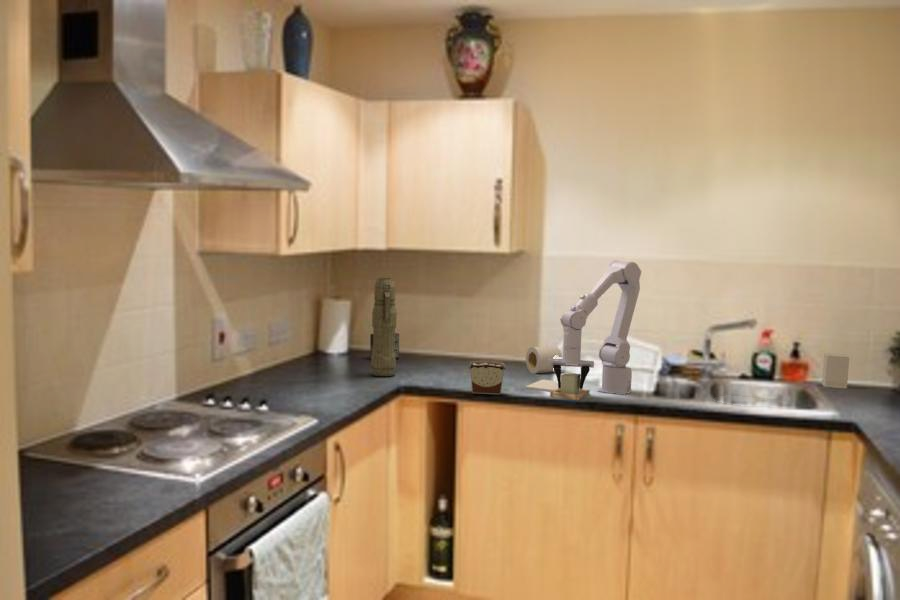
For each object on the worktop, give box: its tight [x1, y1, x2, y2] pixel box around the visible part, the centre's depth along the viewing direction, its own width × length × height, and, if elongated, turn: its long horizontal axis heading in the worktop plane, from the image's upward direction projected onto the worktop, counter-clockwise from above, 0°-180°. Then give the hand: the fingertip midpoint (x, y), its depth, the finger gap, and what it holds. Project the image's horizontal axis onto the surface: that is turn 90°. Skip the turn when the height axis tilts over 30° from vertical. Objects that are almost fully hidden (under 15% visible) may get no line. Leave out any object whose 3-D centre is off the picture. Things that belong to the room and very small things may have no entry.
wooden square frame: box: [549, 388, 590, 401], centre depth 257 cm, size 10×11×2 cm
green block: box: [560, 372, 581, 395], centre depth 257 cm, size 4×6×7 cm
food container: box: [467, 360, 507, 395], centre depth 259 cm, size 12×6×10 cm, turn 84°
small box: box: [369, 332, 400, 359], centre depth 319 cm, size 11×6×10 cm, turn 130°
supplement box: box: [821, 352, 850, 389], centre depth 280 cm, size 7×7×13 cm
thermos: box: [370, 277, 398, 377], centre depth 285 cm, size 9×12×35 cm
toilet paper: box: [525, 345, 563, 374], centre depth 298 cm, size 10×10×10 cm
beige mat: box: [525, 379, 558, 393], centre depth 270 cm, size 11×15×1 cm
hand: (570, 388), depth 257 cm, fingers closed on green block, 6 cm apart
